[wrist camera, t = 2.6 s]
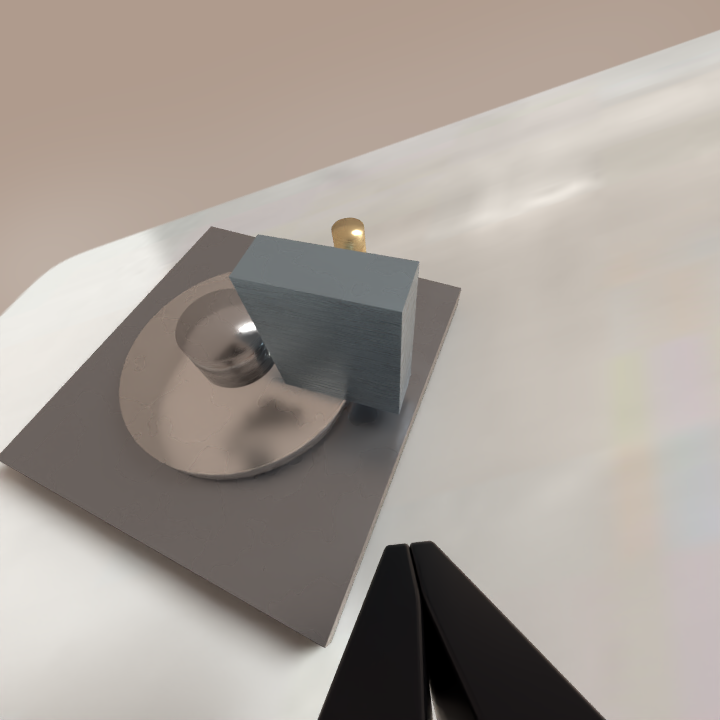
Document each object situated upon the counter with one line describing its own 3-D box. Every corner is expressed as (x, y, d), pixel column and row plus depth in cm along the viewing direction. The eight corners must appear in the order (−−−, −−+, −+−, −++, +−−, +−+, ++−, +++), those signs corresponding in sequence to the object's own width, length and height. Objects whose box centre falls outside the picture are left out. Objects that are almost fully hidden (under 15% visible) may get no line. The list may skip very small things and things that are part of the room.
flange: (81, 436, 18) (-113, 342, 11) (208, 264, 23) (133, 134, 17) (365, 538, 14) (339, 493, 8) (432, 308, 20) (451, 167, 13)
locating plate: (331, 642, 14) (295, 673, 9) (22, 467, 19) (-113, 423, 14) (457, 305, 22) (476, 222, 17) (219, 243, 27) (180, 164, 22)
